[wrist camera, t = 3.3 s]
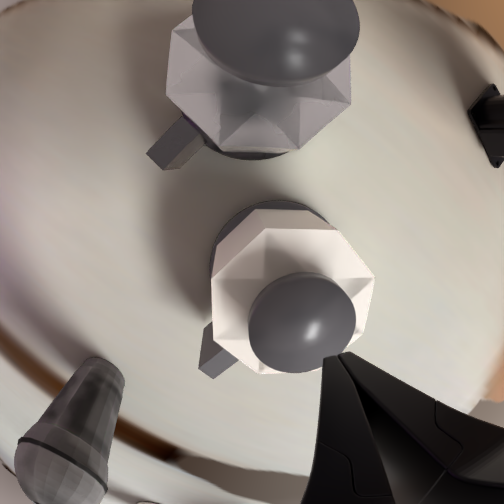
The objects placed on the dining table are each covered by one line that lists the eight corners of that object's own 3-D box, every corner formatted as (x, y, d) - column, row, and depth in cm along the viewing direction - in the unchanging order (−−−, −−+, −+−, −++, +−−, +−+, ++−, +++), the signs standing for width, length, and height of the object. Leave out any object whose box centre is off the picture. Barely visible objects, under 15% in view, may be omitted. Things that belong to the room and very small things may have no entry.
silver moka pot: (254, 12, 15) (264, -38, 9) (347, 102, 17) (393, 81, 11) (131, 117, 17) (88, 99, 11) (226, 211, 19) (223, 234, 13)
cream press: (281, 171, 19) (306, 175, 12) (361, 266, 21) (404, 303, 15) (164, 284, 20) (140, 332, 14) (252, 358, 23) (259, 416, 17)
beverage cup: (62, 371, 23) (-18, 524, 4) (85, 330, 21) (-25, 522, 2) (120, 411, 24) (74, 575, 5) (152, 378, 23) (104, 588, 4)
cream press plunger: (286, 224, 17) (313, 256, 11) (334, 278, 19) (373, 326, 13) (226, 279, 18) (224, 333, 12) (278, 326, 19) (295, 387, 14)
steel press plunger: (261, 11, 11) (278, -60, 5) (330, 74, 12) (388, 30, 6) (186, 66, 12) (157, 8, 6) (257, 134, 13) (278, 112, 7)
